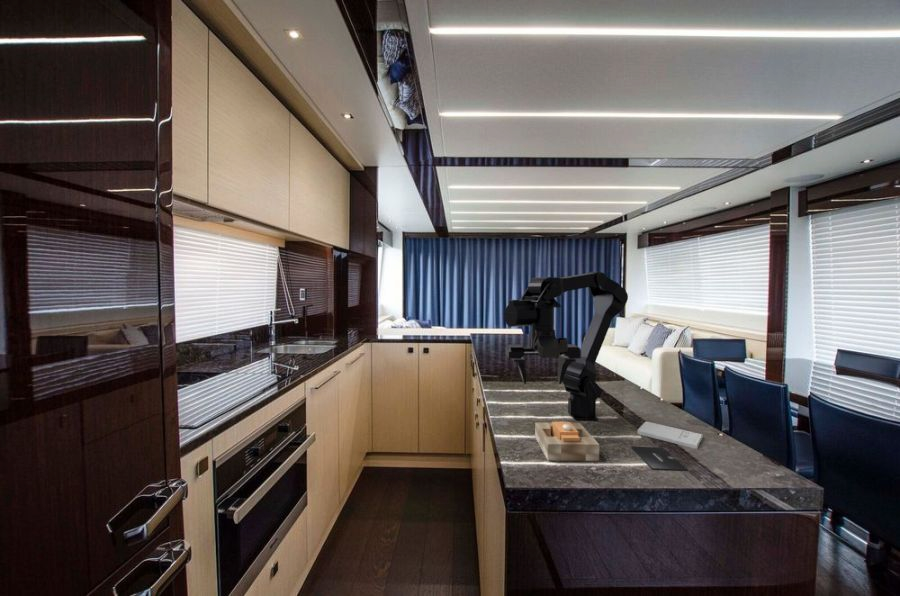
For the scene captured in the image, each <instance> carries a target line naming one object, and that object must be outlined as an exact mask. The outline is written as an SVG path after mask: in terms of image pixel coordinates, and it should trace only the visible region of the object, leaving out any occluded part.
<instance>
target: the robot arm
mask: <svg viewBox="0 0 900 596" xmlns="http://www.w3.org/2000/svg"><path fill="white" fill-rule="evenodd" d="M586 288H588V289H589V294H590V295H591V296H592V297H593V298H594V299H593V307H594V314H593V317H592V319H591V321H590V324H589V327H588V329H587V331H586V334H585V336H584V339H583V341H582V344H581V346H580V347H579V346H577V345H575V344H572V343H571V344H570V343H569V342H568V341H569V340H568V338H567V337H558V338H557V337H556V330H555V309H556V308H561V307H562V304H561V303H559V302H558V301H557V300H556V298H558V297H560V296H562V295H563V294H564V293H566V292H570V291H575V290H581V289H586ZM628 298H629V294H628V293H627V291H626V289H625V288H624V287H622V285H621V284H619V283H618V282H616V281H615V280H613V279H611V278H609V277H608V276H607V275H606V274H605V273H604V272H602V271H588V272H586V273H581V274H574V275H569V276H563V277H556V276H555V277H554V276H548V277H547V276H543V277H541V276H540V277H533V278H531V279H530V280H529V282H528V285H527V288H526V290H525V291H524V292H523V294H522V296H521V298H520V299H508V305H507V306H506V307H505V311H504V312H503V317H504V322H505V324H506V325H507V326H508V327H509V328H514V327H515V328H516V327H526V326H527V327H530V326H531V327H530V333H531V335H530V337H531V338H530V339H531V342H530V347H524V346H523V345H522V344H507V345H506V346H505V356H506V357H507V358H508V359H511V360H512V361H513V362H515V363H516V365H517V368H518V370H519V374H520V376H521V379H522V382H523V384H524V385H526V384H527V372H526V359H525V358H524V356H526V355H527V356H529V355H531V356H534V355H536V356H539V357H540V358H541V359H548V358H549V359H550V358H552V359H558V361H557V362H558V364H557V381H558V384H559V385H561V384H563V385H564V390H565V392H566V393H569V397H568V398H567V413H568V414H569V415H570V416H571V417H572V418H573V420H575V421H598V420H599V417H597V416H596V414H597V412H596V411H597V400H598V399H600V398H601V397H602V393H603V389H602V388H601V387H600V385H598V383H597V382H596V378H597V369H596V366H595V365H596V362H597V358H598V357H599V354H600V351H601V348H602V346H603V343H604V341H605V338H606V336H607V334H608V332H609V329H610V326H611V324H612V321H613V319H614V318H615V317H616V316H617V315H618V314H621V312H622V311H623V310H624V308H625V306H626V304H627V303H628V300H629V299H628Z"/></svg>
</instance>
